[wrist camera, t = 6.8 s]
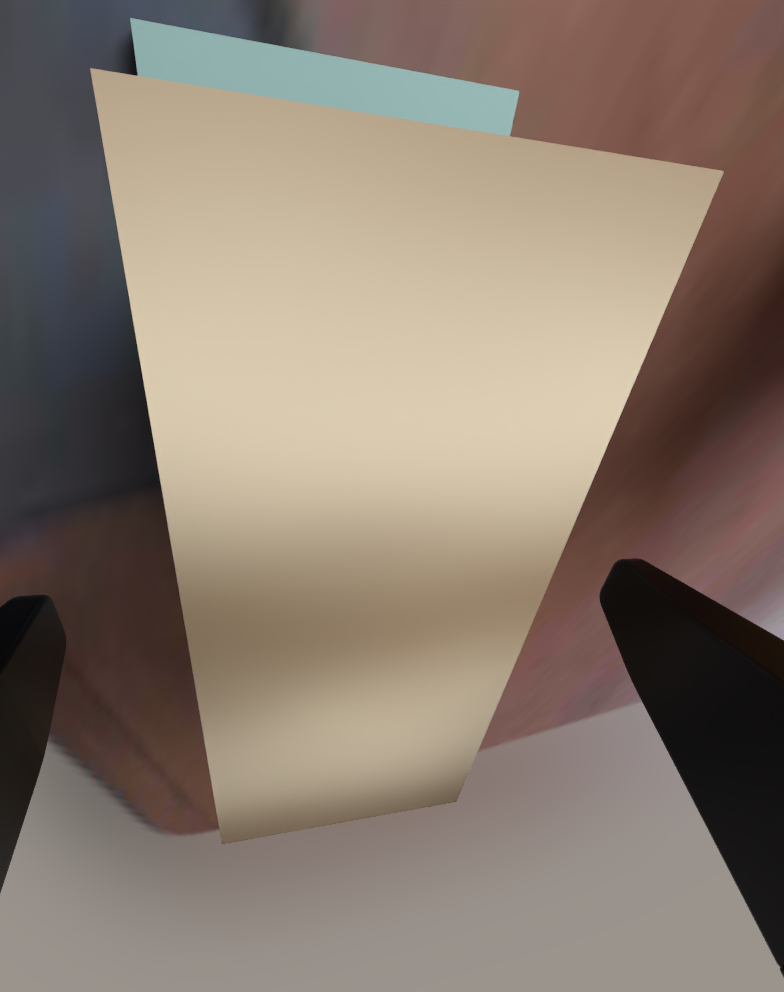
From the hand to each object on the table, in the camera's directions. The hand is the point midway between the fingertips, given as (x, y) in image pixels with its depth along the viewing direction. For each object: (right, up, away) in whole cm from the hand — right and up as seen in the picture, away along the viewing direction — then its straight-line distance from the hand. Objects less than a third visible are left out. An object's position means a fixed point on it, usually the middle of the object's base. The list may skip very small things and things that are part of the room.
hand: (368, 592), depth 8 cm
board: (0, +1, +2) cm, 2 cm away
